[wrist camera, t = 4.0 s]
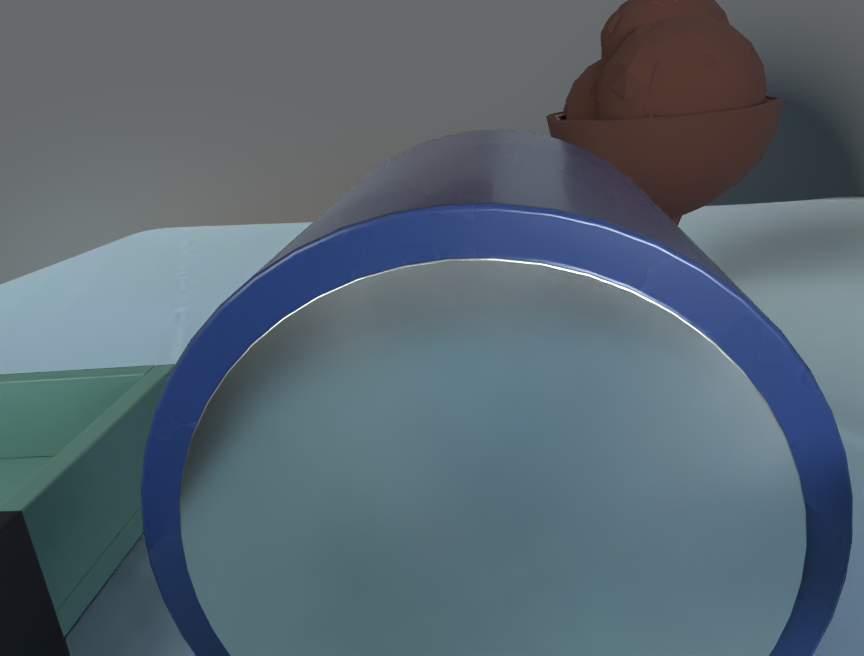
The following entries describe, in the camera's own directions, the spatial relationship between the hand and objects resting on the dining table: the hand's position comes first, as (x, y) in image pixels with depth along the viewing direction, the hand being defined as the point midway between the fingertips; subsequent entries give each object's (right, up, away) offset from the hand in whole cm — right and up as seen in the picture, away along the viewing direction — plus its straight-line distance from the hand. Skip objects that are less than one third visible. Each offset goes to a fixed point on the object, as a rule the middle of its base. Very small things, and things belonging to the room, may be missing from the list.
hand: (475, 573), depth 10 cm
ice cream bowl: (+11, +5, +29) cm, 32 cm away
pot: (+1, -4, +8) cm, 9 cm away
